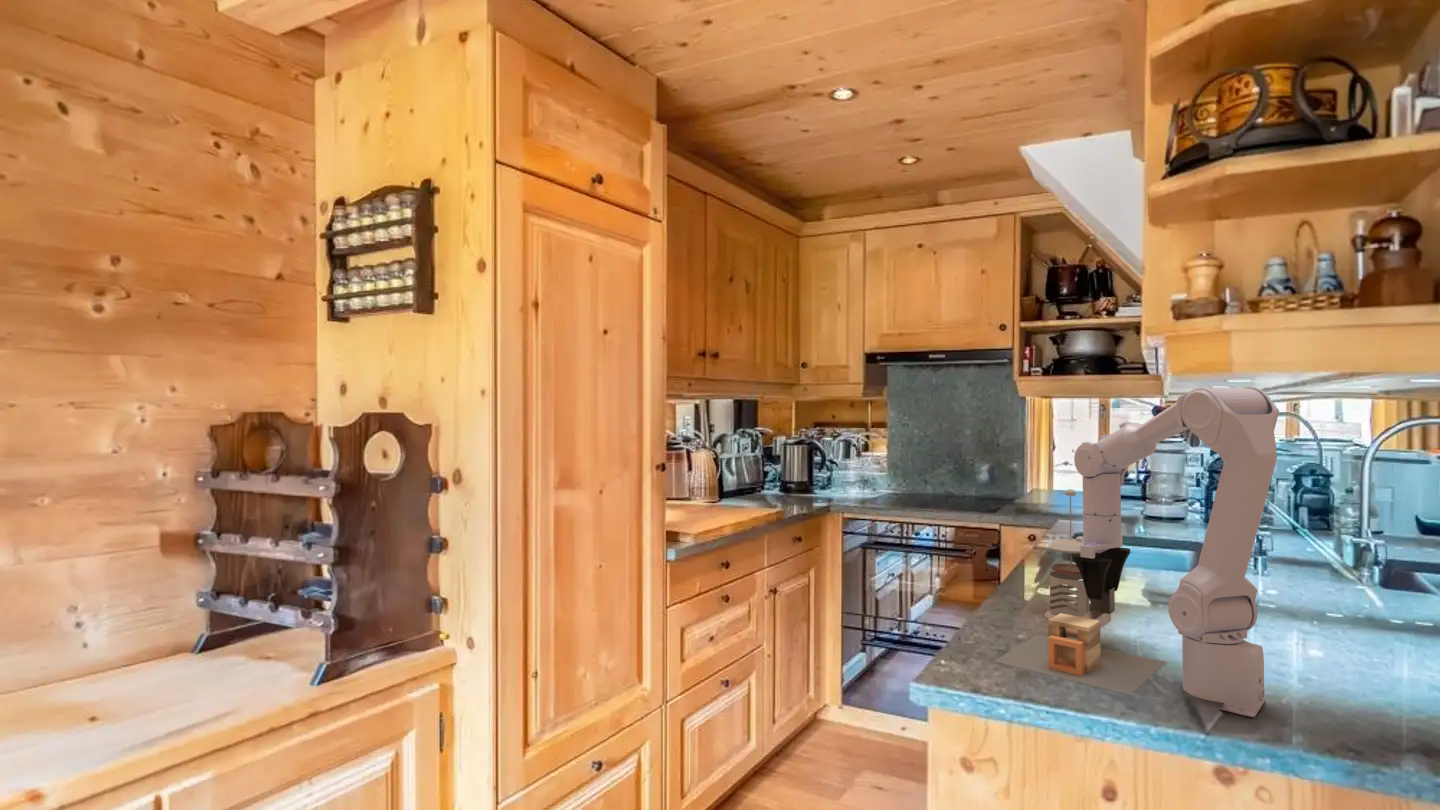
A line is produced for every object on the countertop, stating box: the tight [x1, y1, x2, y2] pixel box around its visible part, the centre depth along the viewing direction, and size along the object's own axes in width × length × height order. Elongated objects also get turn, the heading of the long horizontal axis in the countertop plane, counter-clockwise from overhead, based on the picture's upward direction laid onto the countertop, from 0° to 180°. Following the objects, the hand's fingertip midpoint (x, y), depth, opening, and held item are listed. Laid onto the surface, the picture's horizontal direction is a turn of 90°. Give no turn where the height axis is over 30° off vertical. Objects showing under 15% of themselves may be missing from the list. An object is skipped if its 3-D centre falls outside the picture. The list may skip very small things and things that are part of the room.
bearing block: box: [1047, 613, 1101, 674], centre depth 117 cm, size 6×5×7 cm
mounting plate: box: [992, 634, 1167, 696], centre depth 118 cm, size 20×18×1 cm
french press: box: [1044, 488, 1091, 620], centre depth 144 cm, size 10×12×25 cm
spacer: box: [1047, 635, 1085, 676], centre depth 114 cm, size 5×2×5 cm, turn 46°
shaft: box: [1065, 586, 1116, 640], centre depth 121 cm, size 3×15×6 cm, turn 135°
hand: (1102, 594), depth 126 cm, fingers open, 7 cm apart
